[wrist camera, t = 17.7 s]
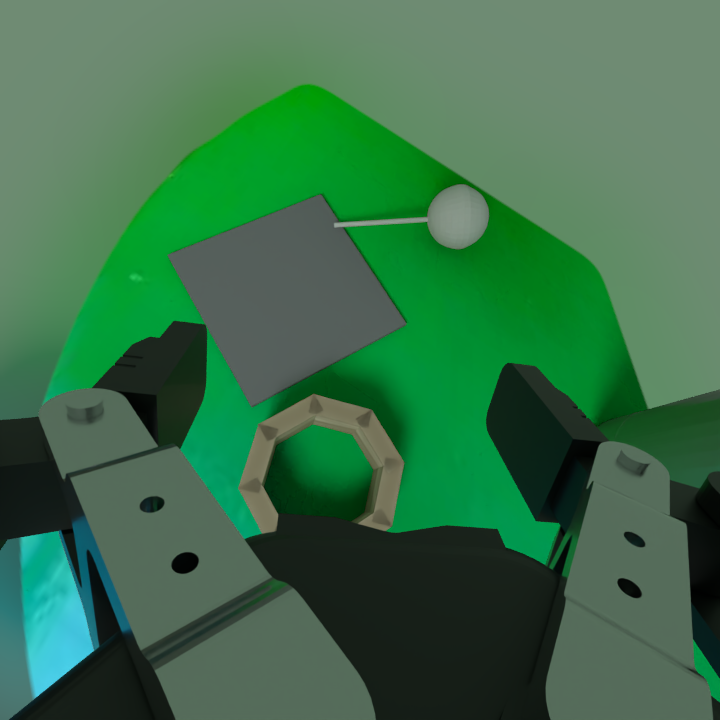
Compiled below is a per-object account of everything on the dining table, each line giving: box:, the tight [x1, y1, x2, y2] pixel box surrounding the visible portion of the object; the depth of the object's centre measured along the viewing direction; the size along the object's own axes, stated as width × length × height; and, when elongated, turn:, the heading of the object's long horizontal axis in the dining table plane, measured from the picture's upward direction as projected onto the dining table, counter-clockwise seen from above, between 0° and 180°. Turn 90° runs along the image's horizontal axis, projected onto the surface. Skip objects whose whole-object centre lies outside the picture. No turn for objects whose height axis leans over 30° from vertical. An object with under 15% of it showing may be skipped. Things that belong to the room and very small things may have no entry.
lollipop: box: [334, 184, 489, 249], centre depth 44 cm, size 6×6×15 cm
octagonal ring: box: [238, 394, 404, 534], centre depth 35 cm, size 12×11×4 cm
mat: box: [168, 194, 406, 407], centre depth 42 cm, size 16×16×1 cm
